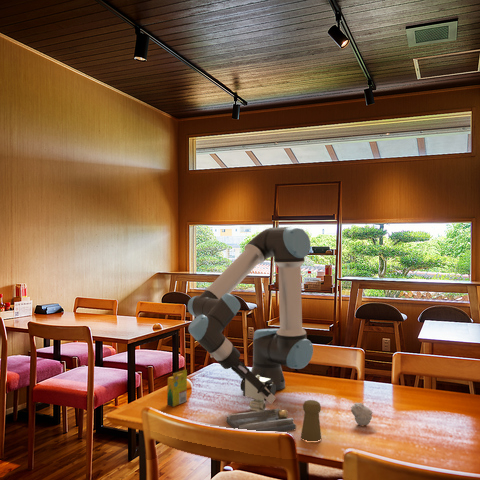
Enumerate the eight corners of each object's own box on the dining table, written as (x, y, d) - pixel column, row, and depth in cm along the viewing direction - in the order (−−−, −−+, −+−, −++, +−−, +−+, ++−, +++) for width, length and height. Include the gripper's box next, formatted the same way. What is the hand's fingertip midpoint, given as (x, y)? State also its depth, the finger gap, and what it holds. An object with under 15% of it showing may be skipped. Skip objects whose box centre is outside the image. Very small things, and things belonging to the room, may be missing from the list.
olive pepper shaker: (298, 434, 135) (299, 397, 136) (318, 434, 136) (319, 397, 136) (303, 443, 129) (304, 404, 130) (323, 443, 130) (324, 404, 130)
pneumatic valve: (269, 415, 150) (270, 379, 151) (239, 408, 157) (240, 374, 157) (276, 411, 155) (277, 376, 156) (247, 404, 161) (248, 370, 162)
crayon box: (180, 400, 164) (181, 367, 165) (186, 401, 163) (187, 369, 163) (166, 405, 158) (167, 371, 159) (172, 407, 157) (173, 373, 157)
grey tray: (276, 415, 151) (277, 403, 151) (295, 429, 139) (296, 416, 139) (226, 421, 145) (226, 409, 145) (241, 437, 132) (242, 423, 133)
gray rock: (348, 421, 147) (349, 399, 147) (370, 422, 147) (370, 400, 147) (352, 428, 141) (353, 406, 141) (375, 429, 141) (375, 407, 141)
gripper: (207, 354, 161) (246, 394, 166) (229, 370, 140) (273, 415, 145) (221, 338, 163) (260, 379, 168) (245, 351, 142) (288, 397, 147)
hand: (266, 396), depth 157 cm, fingers closed on pneumatic valve, 10 cm apart
